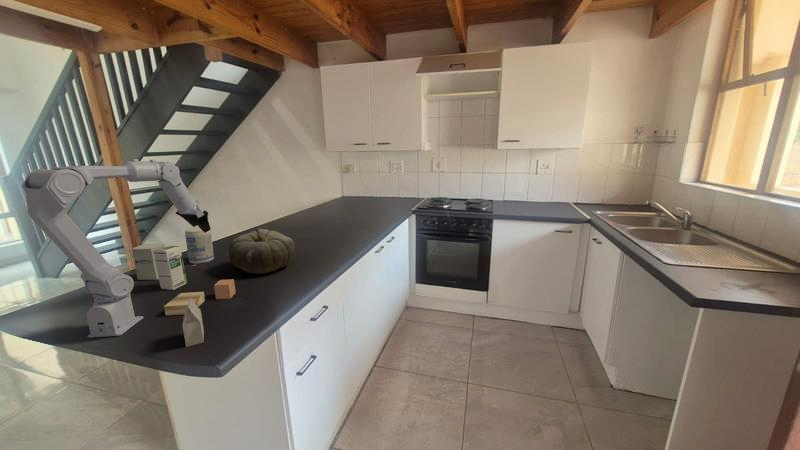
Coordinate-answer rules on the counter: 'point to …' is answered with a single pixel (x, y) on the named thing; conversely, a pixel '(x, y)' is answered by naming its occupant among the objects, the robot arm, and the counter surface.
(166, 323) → the counter surface
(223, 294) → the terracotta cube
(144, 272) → the supplement box
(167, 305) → the beech block
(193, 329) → the tea bag
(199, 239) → the supplement tub
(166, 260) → the syrup box
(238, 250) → the gourd
